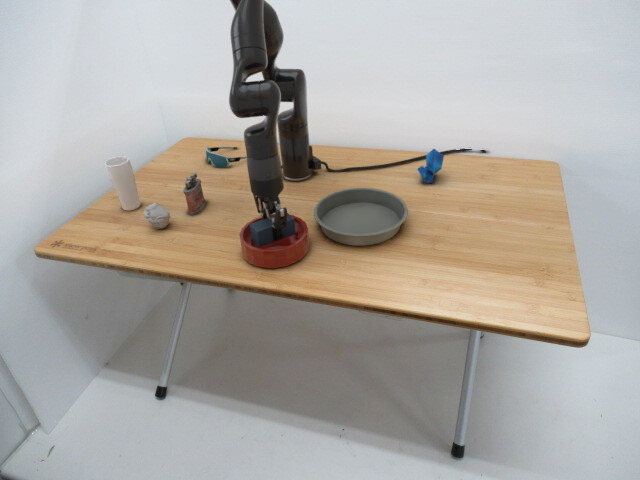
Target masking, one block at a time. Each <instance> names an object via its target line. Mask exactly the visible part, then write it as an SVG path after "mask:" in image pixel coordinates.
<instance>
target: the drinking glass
mask: <svg viewBox="0 0 640 480" xmlns="http://www.w3.org/2000/svg"><path fill="white" fill-rule="evenodd" d="M104 167H105V170H106V173H107V176H108V179H109V181H110V182H111V186H112V187H113V189H114V191H115V194H116V196H117V198H118V200H119V201H118V202H119V203H120V206H121V208H122V210H123V211H127V212H128V211H129V212H130V211H135V210H137V209H138V208H140V207H141V204H142V203H141V199H140V196H139V191H138V187H137V183H136V177H135V173H134V169H133V167H132V163H131V161H130V158H129V156H126V155H125V156H123V155H122V156H120V155H119V156H114V157H111V158H108V159H107V160H106V161H105V162H104Z"/></svg>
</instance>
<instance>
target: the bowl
mask: <svg viewBox="0 0 640 480" xmlns="http://www.w3.org/2000/svg"><path fill="white" fill-rule="evenodd" d="M272 215H274V213H273V214H272ZM290 215H291V216H292V217H293V218H294V221H295V230H296V234H294V235H291V236H288V237H286V238H283V239H281V240H278V241H275V242H273V243H270V244H267V245H265V246H262V247H259V246H258V245H257V244H256V243H255V242H254V241H253V240H252V237H251V231H250V225H249V224H251V223H254V222H257V221H260V220H263V218H262V217H261V216H258V217H256V218H253V219H252V220H250V221H249V222H247V223H245V224H244V226H243V227H242V228H241V230H240V232H239V239H240V245H241V250H242V256H243V258H244V259H245V260H246V261H247V263H249V264H251V265H253V266H256V267H259V268H265V269H277V268H281V267H282V268H283V267H287V266H290V265H292V264H295V263H297V262H298V261H299V260H301V259H302V258H304V257H305V255H306V254H307V253H308V251H309V249H310V237H309V227H308V224H307V222H306V221H304V220H303V219H302V218H301V217H298V216H296V215H294V214H290Z"/></svg>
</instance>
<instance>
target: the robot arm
mask: <svg viewBox="0 0 640 480" xmlns="http://www.w3.org/2000/svg"><path fill="white" fill-rule="evenodd" d="M229 2H230V3H231V6H232V8H233V10H234V15H233V18H232V21H231V23H230V32H229V33H230V45H231V54H232V67H233V68H232V77H231V82H230V83H231V84H230V88H229V95H228V105H229V108H230V110H231V113H232V114H233V115H234V116H235V117H237V118H239V119H249V118H258V117H264V119H263V120H262V121H260V122H258V123H255V124H252V125H250V126H248V127H246V129H244V132H243V140H244V141H243V142H244V146H245V153H246V156H247V158H246V167H247V173H248V178H249V185H250V192H251V193H252V196H253V199H254V203H255V206H256V210H257V214H260V217H262V218H263V219H265V218H268V219H269V220H270V221H271V225H272V230H273V237H274V240H275V241H278V240H281V239H283V233H282V228H284V227H286V225H287V213H288V209H287V207H286V206H285V207H282V205H281V204H282V202H281V198H280V196H279V195H281V193H282V192H283V190H284V188H285V187H284V179H285V180H287V181H289V182H301V181H305V180H308V179H309V178H311V177H312V176H313V175H315V171H318V170H322V165H323V166H324V167H325V169H326V170H327V171H328V172H330V173H342V172H348V171H358V170H372V169H379V168H385V167H391V166H396V165H401V164H406V163H410V162H414V161H418V160H423V159H426V155H427V154H424V155H420V156H417V157H416V156H415V157H413V158H409V159H404V160H399V161H393V162H389V163H383V164H375V165H367V166H366V165H365V166H351V167H346V168H341V169H332V168H330V167H329V165H328V163H327V162H325V161H323V160H321V159H320V158H318V157H316V156H315V155H314V153H313V152H314V151H313V146H312V145H310V136H309V135H310V134H309V120H308V91H307V90H308V89H307V88H308V87H307V77H306V74H305V71H304V70H303V69H301V68H280V67H278V66H277V64H276V61H277V58H278V56H279V54H280V52H281V49H282V48H283V45H284V40H285V38H284V37H285V36H284V35H285V34H284V30H283V27H282V24H281V21H280V19H279V15H278V14H277V12H276V10H275V9H274V7H273V6H272V5H271V4H270V3H269V2H268V1H266V0H229ZM259 73H261V75H262V78H263V80H262V79H261V80H253V81H252V80H251V81H247V80H248V78H250V77H252V76H254V75H257V74H259ZM281 103H293V104H292V105H293V106H292V107H291V108H289V109H286V110H284V111H281V112H280V108H281V107H280V106H281ZM279 112H280V113H279ZM277 132H278V133H277ZM278 140H279V143H278ZM278 144H279V145H278ZM279 149H280V153H279ZM456 149H457V148H455V149H448V150H443V151H438V152H439V153H441V154H442V155H445V154H450V153H458V152H459V153H460V152H468V151H473V150H472V149H465V148H459V149H460V150H456ZM479 151H480V152H482V153H484V154H486V153H487V151H486V150H485V149H484V150H479ZM272 214H274V215H272ZM274 219H275V222H274Z"/></svg>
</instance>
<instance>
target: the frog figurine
mask: <svg viewBox="0 0 640 480" xmlns="http://www.w3.org/2000/svg"><path fill="white" fill-rule="evenodd" d="M143 215H144V218H145V219H146V220H147V222H148V223H150V225H151V226H152V227H154V229H160V230H161V229H164V228H166V227H167V226H168V225H169V224H170V219H171V213H170V212H169V210H168V209H167V208H166V207H164V206H162V205H161V204H159V203H157V202H152V203H151V204H149V205H147V206H146V207H145V208H144V210H143Z"/></svg>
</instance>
